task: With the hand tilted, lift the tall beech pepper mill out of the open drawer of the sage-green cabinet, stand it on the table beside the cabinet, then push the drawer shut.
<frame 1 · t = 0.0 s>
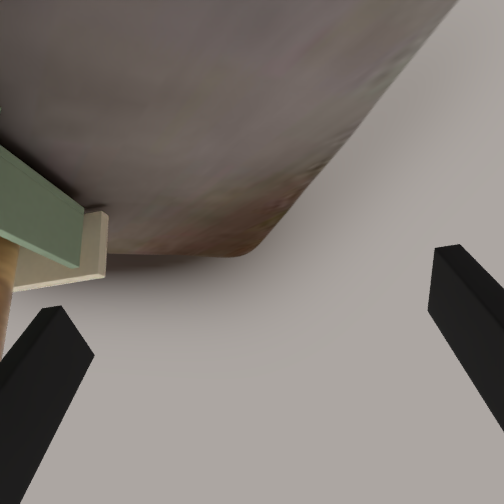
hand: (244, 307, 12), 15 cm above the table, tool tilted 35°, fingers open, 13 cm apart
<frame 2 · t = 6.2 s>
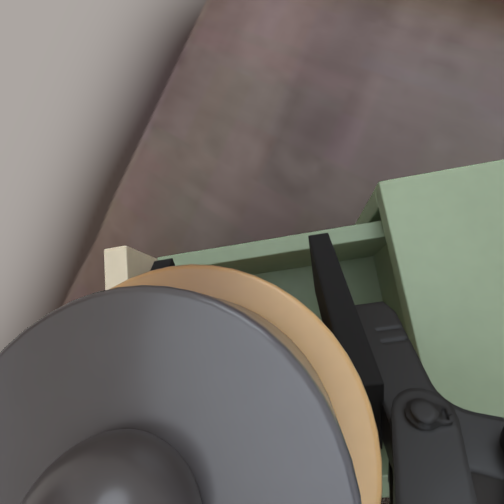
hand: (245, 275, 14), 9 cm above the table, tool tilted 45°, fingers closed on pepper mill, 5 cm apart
drawer: (261, 357, 17), point 4 cm above the table, slide at 12.0 cm, touching pepper mill
pepper mill: (272, 352, 19), point 2 cm above the table, touching drawer, gripper
when the fingers open (7 cm above the table, at t = 14.5 s): pepper mill stays where it is, on the table.
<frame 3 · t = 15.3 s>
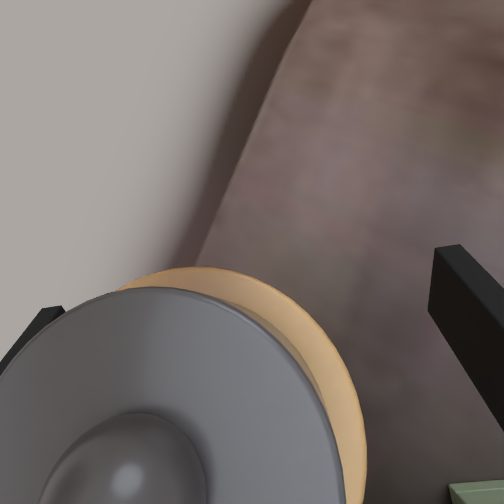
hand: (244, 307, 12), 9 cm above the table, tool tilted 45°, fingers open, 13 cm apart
pepper mill: (270, 351, 20), on the table
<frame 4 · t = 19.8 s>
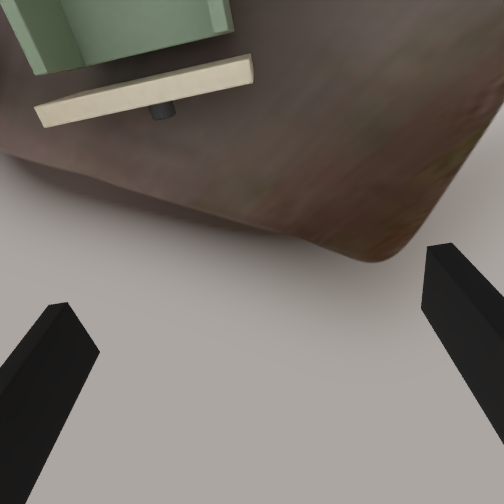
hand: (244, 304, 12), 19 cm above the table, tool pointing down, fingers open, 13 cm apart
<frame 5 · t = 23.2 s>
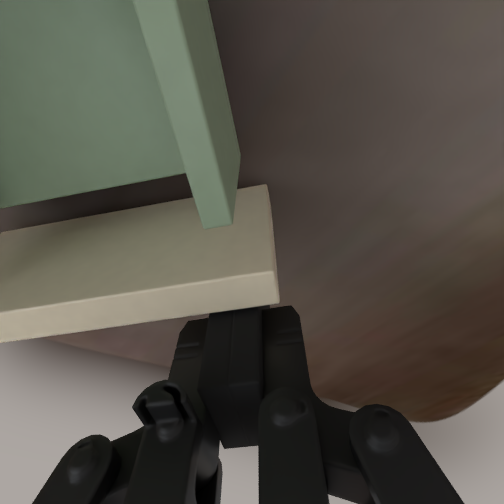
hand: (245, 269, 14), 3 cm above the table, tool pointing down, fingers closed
drawer: (16, 81, 9), point 4 cm above the table, slide at 10.6 cm, touching gripper
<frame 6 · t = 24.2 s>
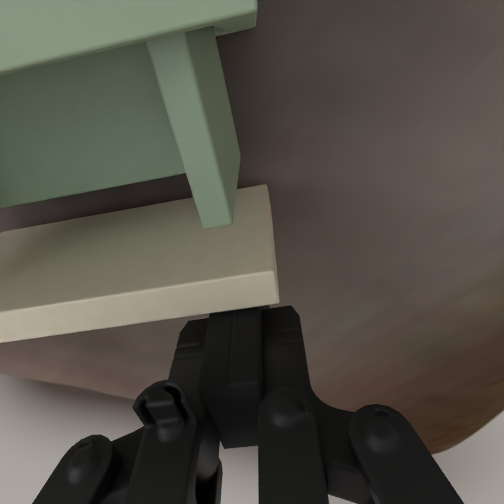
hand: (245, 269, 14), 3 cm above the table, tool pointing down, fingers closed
drawer: (16, 81, 9), point 4 cm above the table, slide at 5.5 cm, touching gripper
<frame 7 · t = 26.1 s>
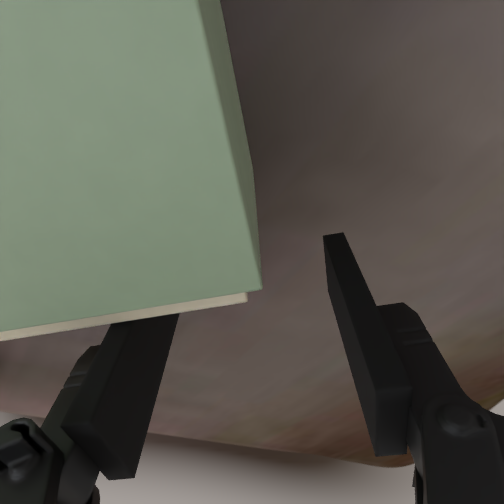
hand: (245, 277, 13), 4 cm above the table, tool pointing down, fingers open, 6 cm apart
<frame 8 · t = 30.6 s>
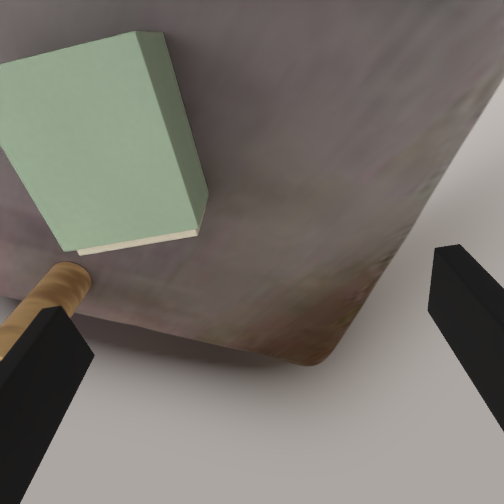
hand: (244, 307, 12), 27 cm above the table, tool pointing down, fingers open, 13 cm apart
drawer: (121, 171, 33), point 4 cm above the table, slide at 0.0 cm
cabinet: (125, 136, 35), on the table
pepper mill: (71, 277, 45), on the table
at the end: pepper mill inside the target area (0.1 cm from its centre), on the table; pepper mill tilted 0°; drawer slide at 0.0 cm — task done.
